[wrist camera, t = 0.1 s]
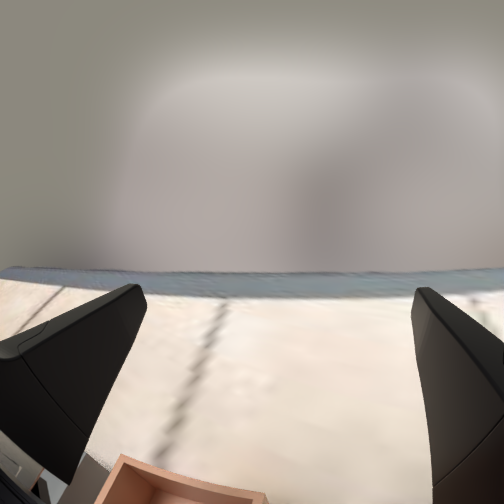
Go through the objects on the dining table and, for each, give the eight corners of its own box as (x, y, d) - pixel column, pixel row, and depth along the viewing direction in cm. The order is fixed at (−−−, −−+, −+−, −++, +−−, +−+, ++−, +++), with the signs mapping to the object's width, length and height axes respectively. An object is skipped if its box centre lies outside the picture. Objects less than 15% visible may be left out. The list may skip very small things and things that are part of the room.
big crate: (60, 591, 4) (16, 580, 2) (-28, 502, 7) (-62, 477, 5) (117, 478, 16) (86, 453, 14) (24, 422, 20) (-2, 392, 17)
